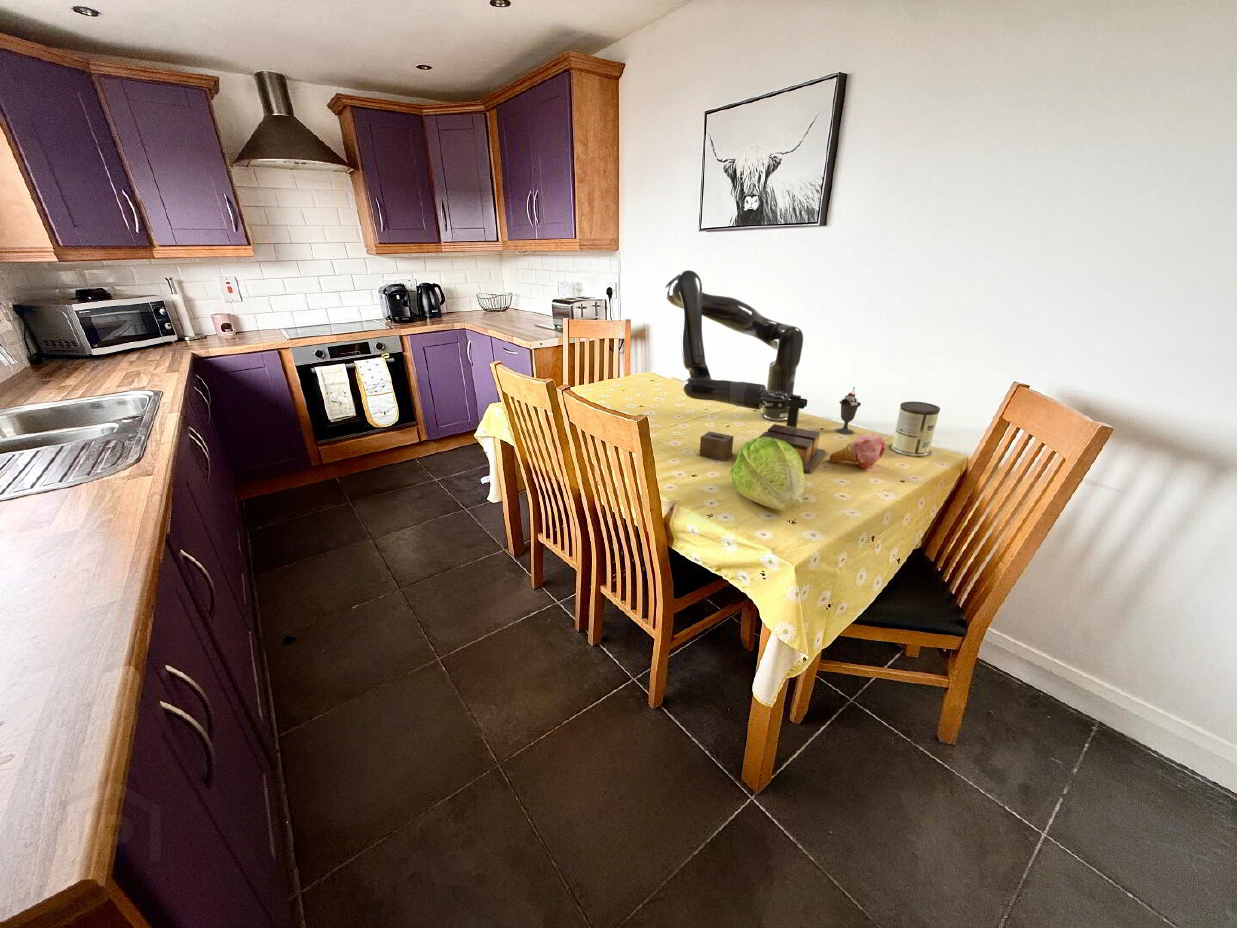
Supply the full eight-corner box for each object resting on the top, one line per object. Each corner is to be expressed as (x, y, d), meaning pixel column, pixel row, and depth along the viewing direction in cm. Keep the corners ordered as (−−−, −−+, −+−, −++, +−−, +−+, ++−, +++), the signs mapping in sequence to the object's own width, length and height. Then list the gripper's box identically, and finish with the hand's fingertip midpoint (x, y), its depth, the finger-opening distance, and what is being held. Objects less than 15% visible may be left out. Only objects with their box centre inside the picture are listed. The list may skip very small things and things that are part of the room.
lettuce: (747, 528, 114) (766, 475, 107) (720, 472, 135) (734, 425, 128) (816, 534, 116) (839, 482, 109) (779, 478, 137) (796, 432, 130)
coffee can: (896, 441, 161) (906, 399, 155) (932, 449, 154) (944, 405, 149) (886, 450, 154) (896, 406, 148) (923, 459, 148) (935, 413, 142)
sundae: (851, 428, 173) (859, 386, 167) (858, 435, 167) (866, 391, 161) (831, 428, 173) (838, 385, 167) (837, 434, 167) (845, 391, 161)
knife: (782, 450, 150) (789, 395, 143) (784, 449, 151) (791, 394, 144) (792, 452, 148) (800, 397, 141) (794, 451, 149) (802, 395, 143)
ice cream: (828, 465, 140) (886, 451, 133) (822, 438, 145) (878, 422, 138) (838, 484, 147) (893, 471, 140) (832, 457, 153) (885, 443, 146)
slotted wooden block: (747, 459, 148) (749, 437, 146) (767, 441, 162) (769, 421, 159) (809, 473, 139) (812, 450, 136) (825, 453, 153) (828, 431, 150)
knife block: (699, 455, 152) (700, 437, 150) (707, 449, 156) (709, 431, 154) (724, 461, 148) (725, 442, 145) (732, 454, 152) (733, 436, 150)
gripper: (739, 388, 144) (800, 397, 135) (756, 378, 155) (814, 386, 146) (737, 412, 147) (796, 423, 138) (754, 401, 158) (810, 410, 149)
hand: (805, 404), depth 142 cm, fingers closed on knife, 1 cm apart
